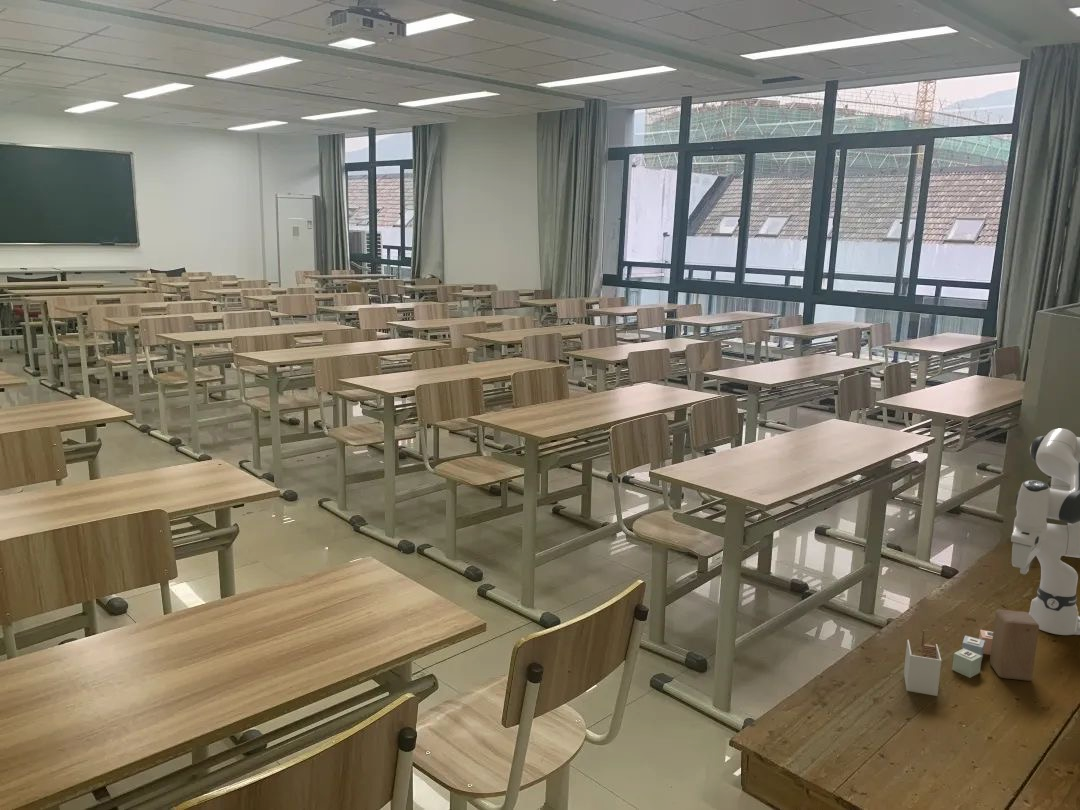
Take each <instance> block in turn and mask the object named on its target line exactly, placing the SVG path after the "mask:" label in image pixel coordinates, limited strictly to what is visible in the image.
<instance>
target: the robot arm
mask: <svg viewBox="0 0 1080 810" xmlns="http://www.w3.org/2000/svg"><path fill="white" fill-rule="evenodd" d="M1029 452H1030V453H1029V454H1030V457H1031V460H1032V461H1033V462H1034V463H1036V465H1037V467H1038V468H1039V470H1040V471H1041V472H1042V473H1043V474H1045V475H1047V476H1049V477H1051V479H1050V486H1049V484H1048V483H1046V482H1044V481H1041V480H1034V479H1030V480H1029V479H1028V480H1025V481H1023V482H1022V483H1021V485H1020V488H1019V490H1018V491H1017V492H1016V494H1015V495H1016V496H1015V503H1014V506H1015V508H1016V516H1015V517H1014V522H1013V530H1012V533H1011V536H1010V539H1011V540H1010V541H1011V542H1012V545H1011V546H1012V547H1011V565H1012V566H1013V567H1014V568H1019V573H1020V574H1022V575H1026V574H1027V573H1029V570H1030V565H1031V563H1032V561H1033V560H1034V558H1037V560H1038V562H1039V564H1040V583H1039V586H1038V587H1037V591H1036V592H1037V594H1036V597H1034V598H1033V599H1031V602H1030V606H1029V607H1030V608H1029V611H1028V613H1029V614H1030V615H1031V616H1032V618H1033V619H1034V620H1035V621H1036V622H1037V623H1038V624H1039V631H1043V632H1045V633H1050V634H1054V635H1061V636H1073V635H1074V636H1080V615H1079V613H1080V611H1078V609H1079V608H1078V605H1077V600H1078V597H1077V588H1078V580H1079V575H1078V572H1077V571H1076V569H1075V568H1074V567H1072V566H1070V565H1069V564H1068V563H1066V562H1064V561H1062V560H1061V558H1062V557H1063V556H1064V557H1071V558H1078V559H1080V436H1076V434H1075V433H1074V432H1073V431H1071V430H1070V429H1067V428H1061V427H1060V428H1054V429H1051V430H1050V431H1049V432H1048V433H1047V434H1046V435H1040V436H1037V437H1035V438H1034V439H1033V440H1032V442H1031V445H1030V447H1029ZM1047 519H1050V520H1055V521H1061V522H1063V523H1066V524H1067V525H1066V524H1057V523H1056V524H1055V523H1049V522H1047Z"/></svg>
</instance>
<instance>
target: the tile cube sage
mask: <svg viewBox="0 0 1080 810" xmlns="http://www.w3.org/2000/svg"><path fill="white" fill-rule="evenodd" d="M981 660H982V661H983V658H982V656H981V655H979V654H976V653H974V652H972V651H969V650H967V649H965V648H963V649H962V648H961V649H959V650H957V651H955V652H954V653H953V659H952V666H951V667H952V668H951V670H952V671H954V672H956V673H958V674H961V675H963V676H965V677H967V678H969V679H971V678H973V677H975V676H976V675H978V674H980V673H981V667H982V661H981Z"/></svg>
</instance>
